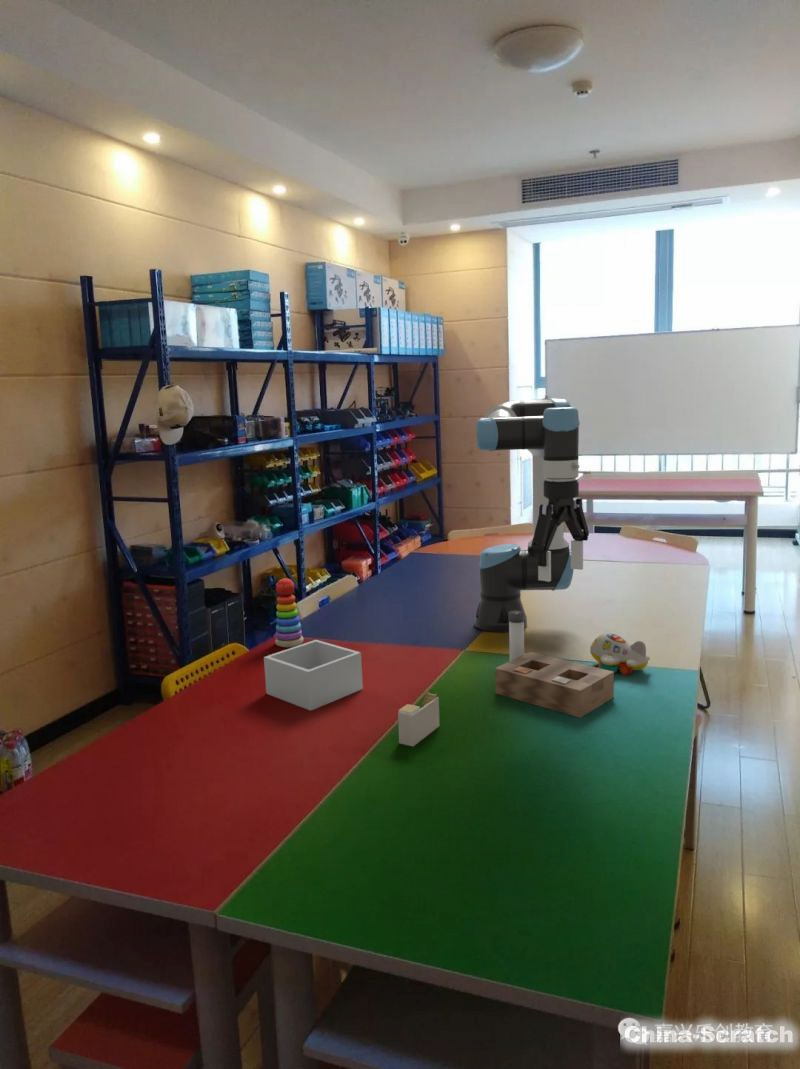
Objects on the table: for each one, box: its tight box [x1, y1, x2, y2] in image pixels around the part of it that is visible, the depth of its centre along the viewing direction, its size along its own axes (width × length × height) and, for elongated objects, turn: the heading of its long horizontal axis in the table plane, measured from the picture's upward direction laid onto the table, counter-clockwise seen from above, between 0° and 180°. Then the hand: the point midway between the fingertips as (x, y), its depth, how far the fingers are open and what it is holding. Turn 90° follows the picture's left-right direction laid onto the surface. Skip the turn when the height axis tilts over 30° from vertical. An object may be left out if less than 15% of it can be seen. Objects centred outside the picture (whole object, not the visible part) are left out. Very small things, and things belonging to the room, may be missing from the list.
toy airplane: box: [589, 633, 651, 676], centre depth 191 cm, size 13×9×15 cm
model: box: [397, 691, 440, 747], centre depth 159 cm, size 3×11×8 cm, turn 148°
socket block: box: [494, 651, 615, 719], centre depth 177 cm, size 22×14×6 cm, turn 47°
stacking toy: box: [274, 577, 305, 648], centre depth 219 cm, size 8×8×19 cm
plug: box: [508, 611, 525, 661], centre depth 195 cm, size 4×4×14 cm
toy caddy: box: [263, 639, 364, 711], centre depth 184 cm, size 16×16×9 cm
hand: (561, 574), depth 175 cm, fingers open, 13 cm apart
